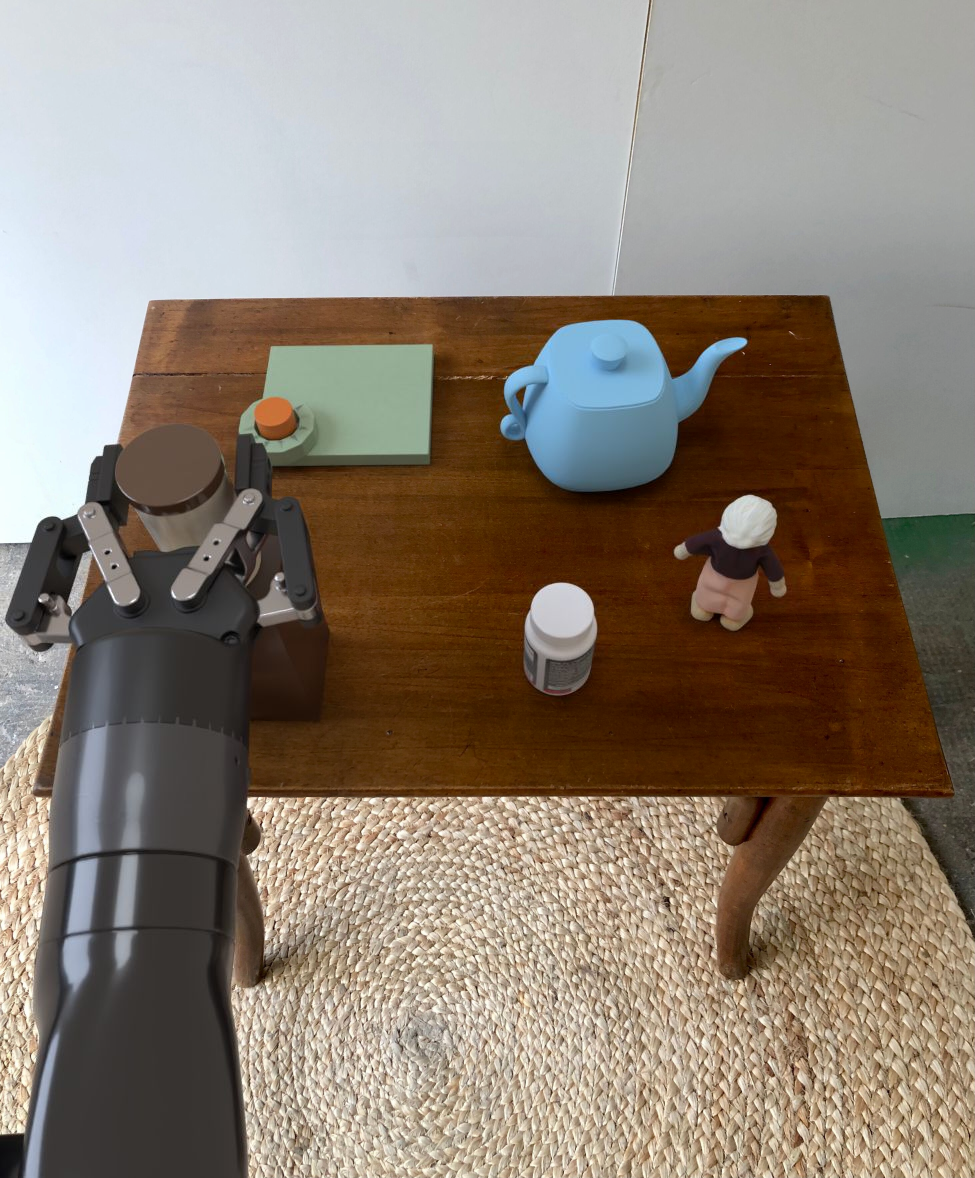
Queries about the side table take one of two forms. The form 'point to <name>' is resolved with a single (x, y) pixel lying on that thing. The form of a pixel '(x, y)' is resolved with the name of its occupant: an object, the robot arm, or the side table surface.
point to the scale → (350, 404)
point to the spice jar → (176, 484)
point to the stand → (286, 656)
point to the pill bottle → (559, 639)
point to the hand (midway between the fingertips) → (184, 449)
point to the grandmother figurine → (735, 562)
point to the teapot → (605, 404)
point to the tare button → (275, 418)
